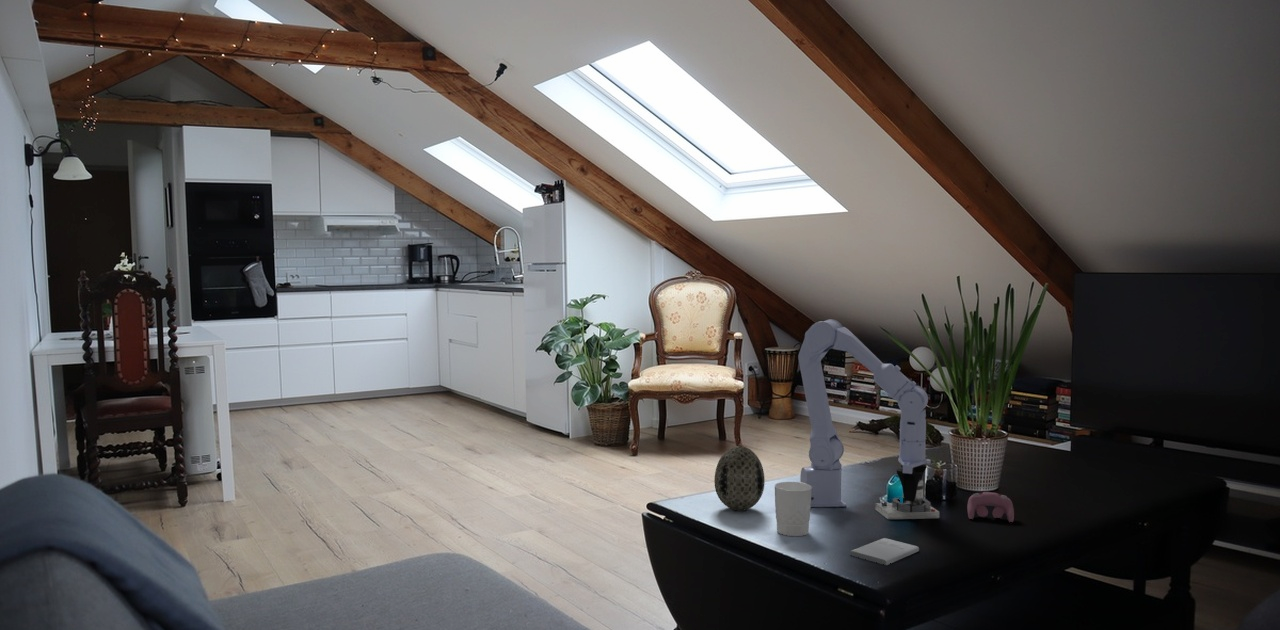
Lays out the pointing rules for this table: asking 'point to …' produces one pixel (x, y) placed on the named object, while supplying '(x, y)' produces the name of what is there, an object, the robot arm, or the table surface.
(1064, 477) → the table surface
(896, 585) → the table surface
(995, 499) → the video game controller
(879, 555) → the external hard drive
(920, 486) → the lens
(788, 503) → the white cup
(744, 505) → the decorative egg
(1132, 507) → the table surface
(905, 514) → the white display stand
